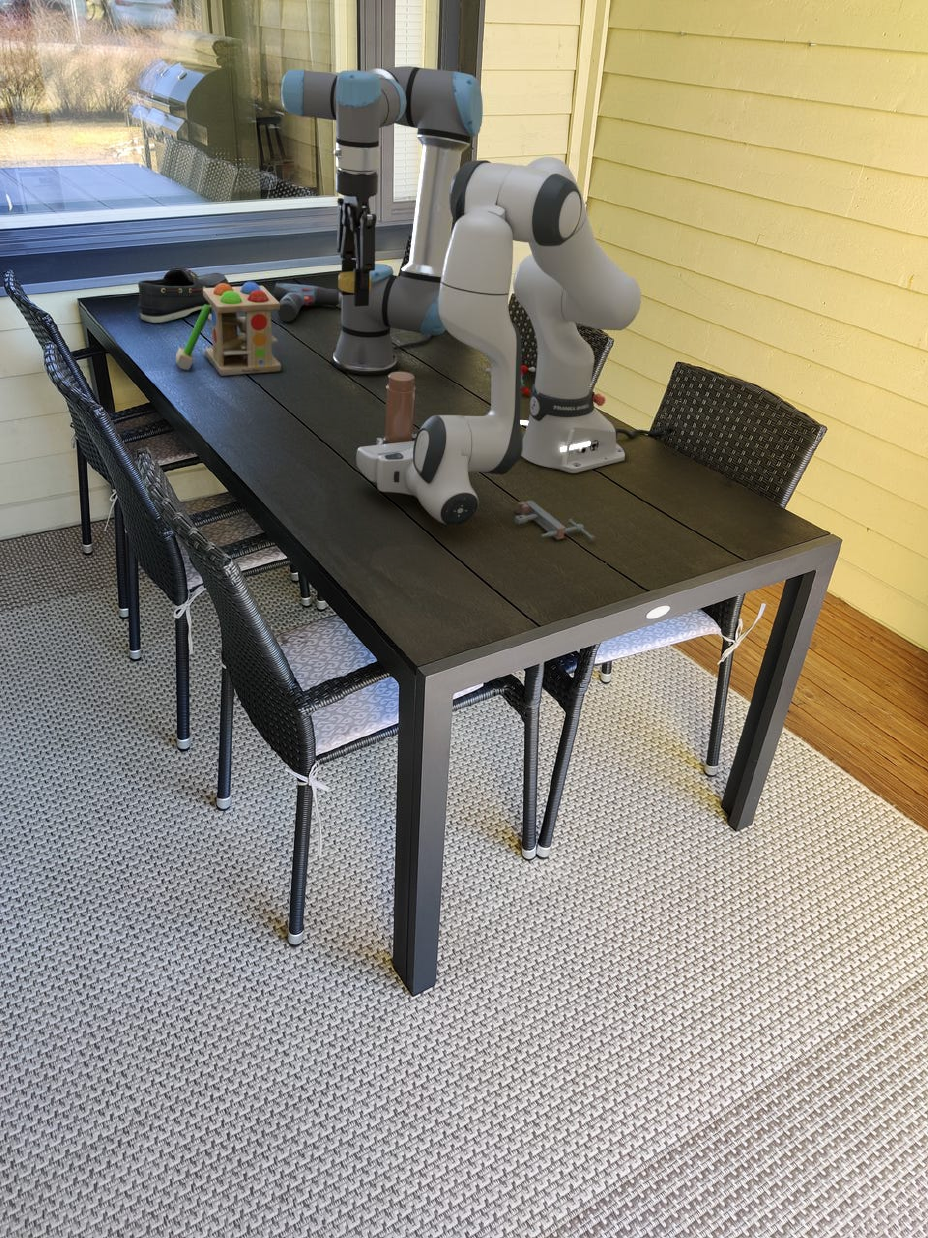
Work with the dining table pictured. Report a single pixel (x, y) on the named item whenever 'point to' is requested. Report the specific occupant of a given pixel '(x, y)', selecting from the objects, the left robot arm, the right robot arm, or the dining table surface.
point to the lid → (349, 281)
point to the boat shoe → (175, 294)
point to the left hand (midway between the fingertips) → (354, 299)
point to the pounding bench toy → (229, 347)
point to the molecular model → (524, 369)
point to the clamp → (546, 521)
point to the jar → (399, 407)
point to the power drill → (302, 298)
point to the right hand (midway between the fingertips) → (396, 439)
